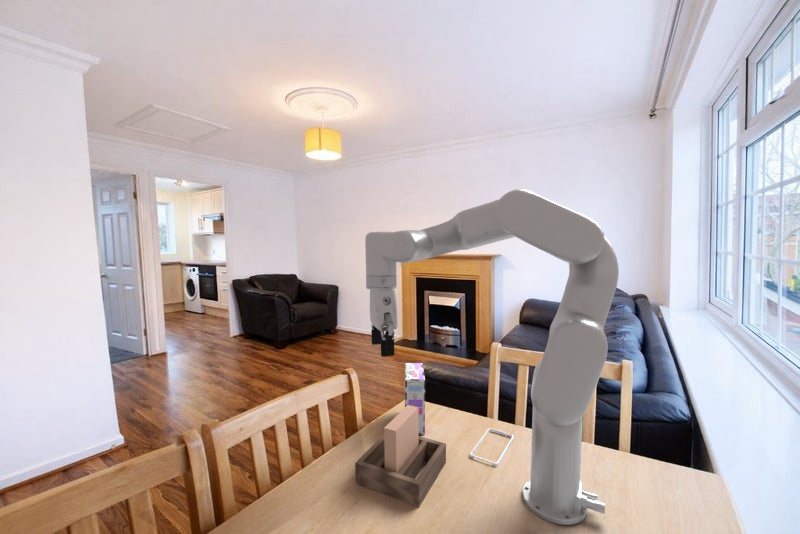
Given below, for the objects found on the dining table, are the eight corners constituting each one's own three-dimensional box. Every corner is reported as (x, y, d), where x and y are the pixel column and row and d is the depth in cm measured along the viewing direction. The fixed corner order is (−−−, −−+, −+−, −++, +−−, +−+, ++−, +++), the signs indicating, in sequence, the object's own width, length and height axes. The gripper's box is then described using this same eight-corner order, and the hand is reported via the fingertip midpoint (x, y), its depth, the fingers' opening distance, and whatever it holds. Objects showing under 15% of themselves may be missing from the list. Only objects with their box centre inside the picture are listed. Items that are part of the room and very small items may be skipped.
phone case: (488, 431, 104) (469, 459, 92) (488, 427, 104) (469, 454, 91) (514, 439, 100) (497, 469, 87) (514, 434, 100) (497, 464, 87)
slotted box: (445, 462, 89) (446, 443, 89) (419, 507, 75) (419, 484, 74) (389, 445, 97) (389, 428, 96) (355, 483, 82) (355, 462, 82)
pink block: (418, 460, 90) (418, 407, 89) (396, 490, 80) (396, 431, 78) (407, 457, 92) (407, 404, 90) (384, 486, 81) (384, 427, 80)
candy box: (425, 435, 101) (425, 379, 100) (404, 435, 102) (404, 379, 100) (423, 411, 115) (423, 361, 114) (405, 411, 115) (404, 361, 114)
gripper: (407, 285, 81) (407, 359, 82) (386, 277, 97) (387, 338, 99) (374, 287, 79) (376, 363, 80) (359, 278, 95) (360, 341, 97)
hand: (382, 349), depth 90 cm, fingers open, 9 cm apart
